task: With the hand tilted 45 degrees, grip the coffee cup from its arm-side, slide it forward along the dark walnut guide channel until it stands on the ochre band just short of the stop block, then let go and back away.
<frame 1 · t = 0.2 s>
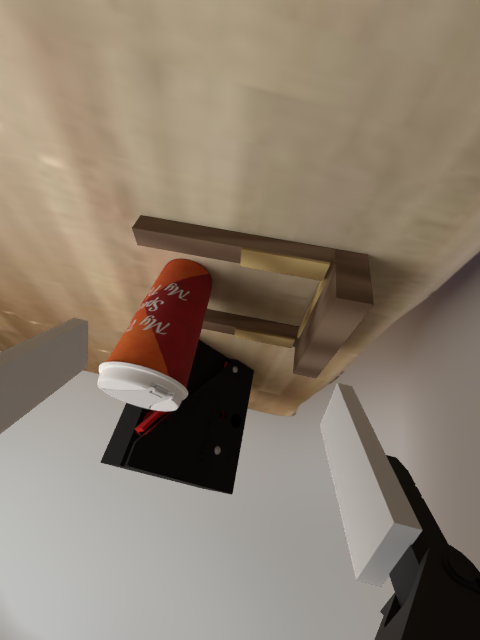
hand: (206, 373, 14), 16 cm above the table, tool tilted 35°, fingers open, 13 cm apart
guide channel: (236, 286, 32), on the table
electrical component: (205, 353, 49), on the table
coffee cup: (188, 276, 32), on the table
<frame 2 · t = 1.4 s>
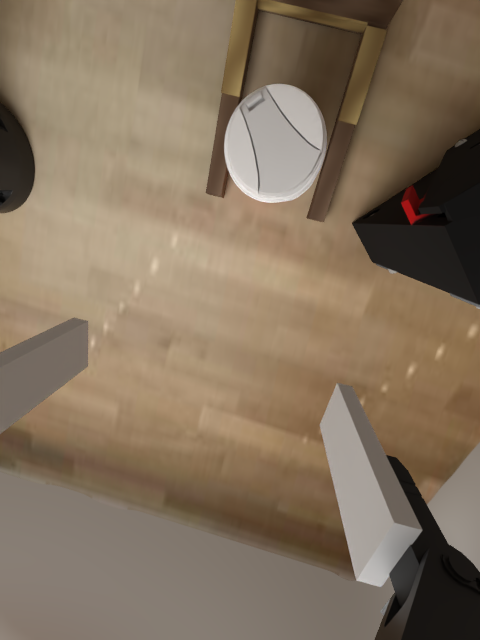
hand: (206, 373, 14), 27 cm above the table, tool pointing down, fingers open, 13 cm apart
guide channel: (286, 120, 32), on the table
electrical component: (427, 203, 34), on the table
coffee cup: (272, 175, 34), on the table
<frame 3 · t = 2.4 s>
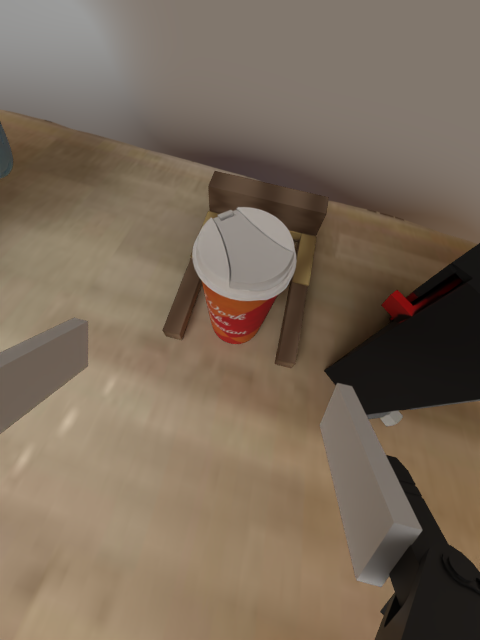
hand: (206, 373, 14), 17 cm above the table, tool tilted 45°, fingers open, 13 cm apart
guide channel: (246, 282, 36), on the table
electrical component: (391, 354, 33), on the table
coffee cup: (235, 322, 33), on the table
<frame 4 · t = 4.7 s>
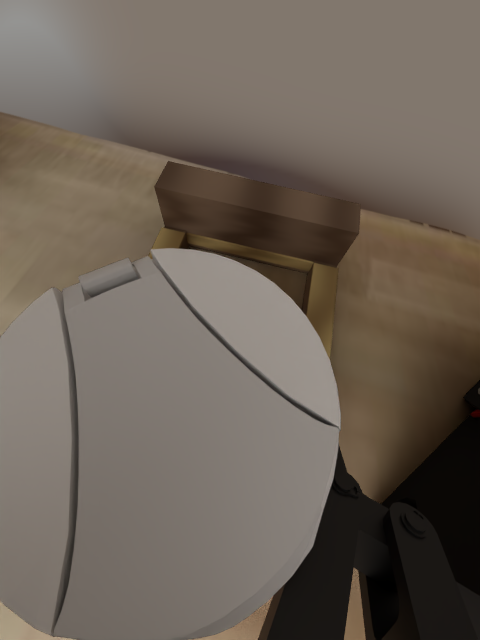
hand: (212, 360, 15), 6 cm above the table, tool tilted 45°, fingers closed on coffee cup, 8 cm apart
guide channel: (223, 347, 21), on the table
electrical component: (478, 481, 19), on the table
coffee cup: (202, 425, 19), on the table, touching gripper
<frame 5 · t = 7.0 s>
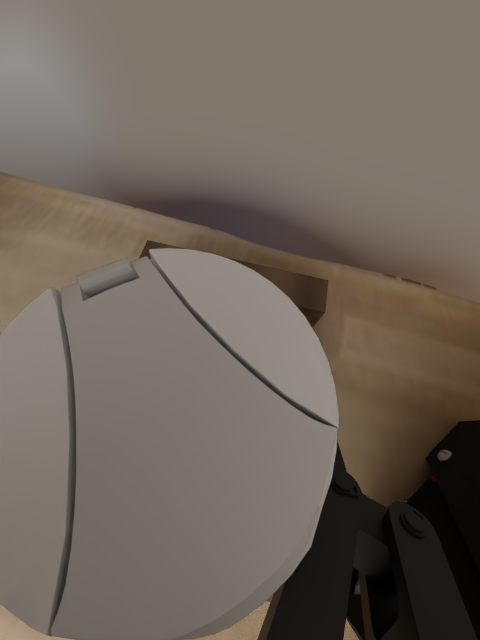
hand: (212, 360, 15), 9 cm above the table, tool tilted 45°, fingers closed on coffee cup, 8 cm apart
guide channel: (202, 413, 23), on the table
electrical component: (436, 541, 20), on the table
coffee cup: (202, 426, 19), point 4 cm above the table, touching gripper
when the fingers open (7 cm above the table, at t = 9.0 s): coffee cup drops 1 cm, on the table.
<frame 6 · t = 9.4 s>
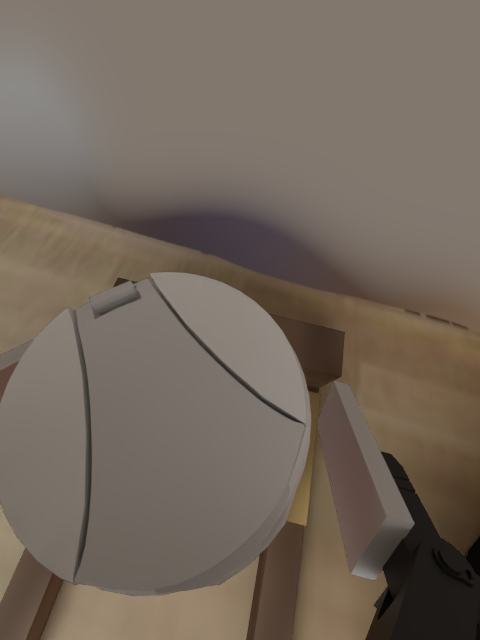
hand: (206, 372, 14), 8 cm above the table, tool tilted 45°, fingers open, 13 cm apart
guide channel: (184, 494, 18), on the table
coffee cup: (201, 426, 20), on the table
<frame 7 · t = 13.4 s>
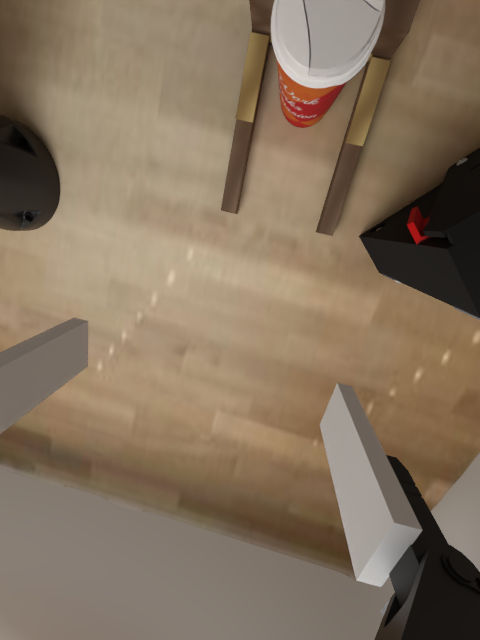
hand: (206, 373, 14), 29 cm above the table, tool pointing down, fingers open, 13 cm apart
guide channel: (296, 142, 34), on the table
electrical component: (431, 217, 35), on the table
coffee cup: (305, 100, 33), on the table
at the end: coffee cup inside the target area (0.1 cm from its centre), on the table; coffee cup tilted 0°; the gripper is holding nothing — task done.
